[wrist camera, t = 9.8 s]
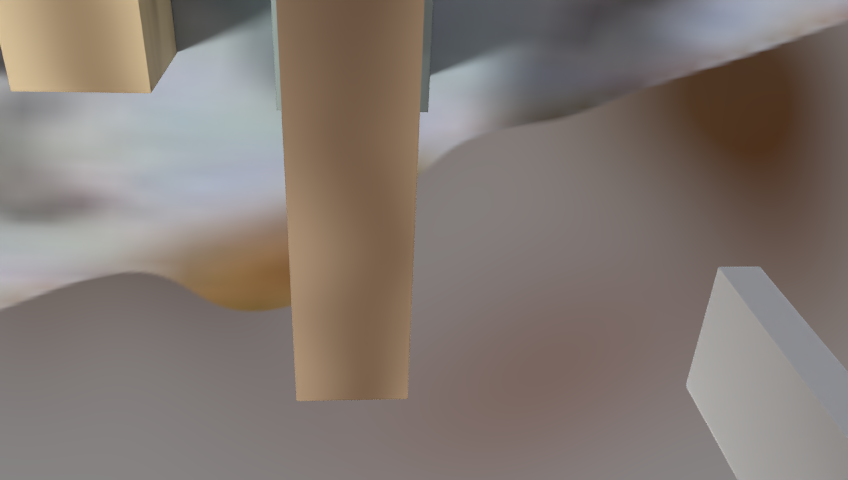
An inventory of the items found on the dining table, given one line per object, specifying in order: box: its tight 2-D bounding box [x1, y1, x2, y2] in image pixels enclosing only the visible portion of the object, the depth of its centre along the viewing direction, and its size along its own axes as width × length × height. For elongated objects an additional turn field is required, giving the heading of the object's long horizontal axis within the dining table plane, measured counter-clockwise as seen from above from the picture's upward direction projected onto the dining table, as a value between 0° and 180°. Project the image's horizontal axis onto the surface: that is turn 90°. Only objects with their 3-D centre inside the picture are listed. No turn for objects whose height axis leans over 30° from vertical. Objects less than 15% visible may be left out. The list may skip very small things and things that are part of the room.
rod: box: [276, 0, 424, 401], centre depth 25 cm, size 4×22×4 cm, turn 178°
